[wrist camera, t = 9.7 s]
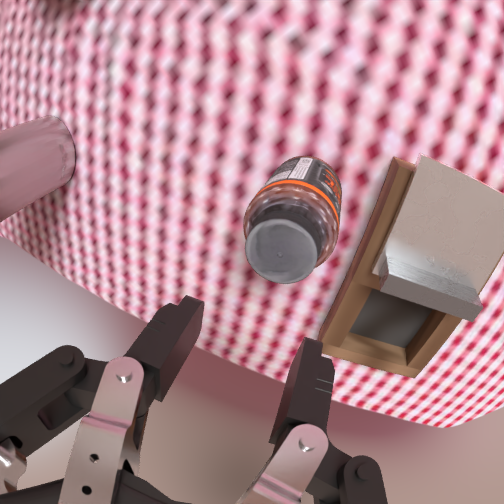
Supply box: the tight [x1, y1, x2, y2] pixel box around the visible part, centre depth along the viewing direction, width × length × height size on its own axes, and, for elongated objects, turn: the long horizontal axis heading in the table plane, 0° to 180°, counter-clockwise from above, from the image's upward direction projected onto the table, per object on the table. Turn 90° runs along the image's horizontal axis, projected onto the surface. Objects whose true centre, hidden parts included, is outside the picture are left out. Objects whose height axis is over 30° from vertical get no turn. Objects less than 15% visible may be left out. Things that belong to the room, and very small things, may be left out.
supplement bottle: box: [243, 156, 342, 284], centre depth 22 cm, size 6×6×11 cm
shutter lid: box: [372, 153, 504, 322], centre depth 20 cm, size 10×10×3 cm
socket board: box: [318, 157, 504, 378], centre depth 26 cm, size 12×20×3 cm, turn 169°
